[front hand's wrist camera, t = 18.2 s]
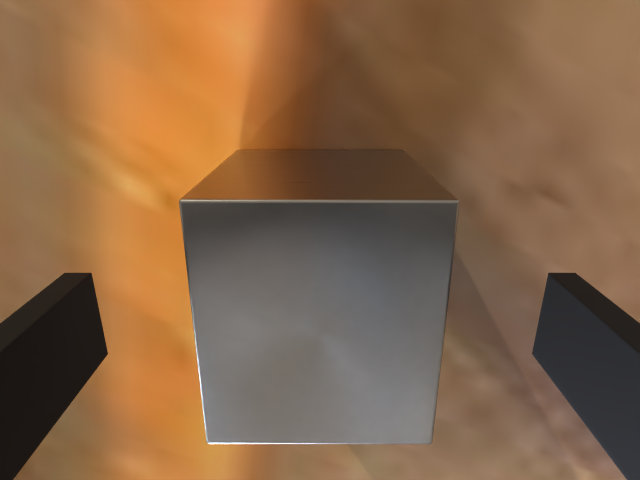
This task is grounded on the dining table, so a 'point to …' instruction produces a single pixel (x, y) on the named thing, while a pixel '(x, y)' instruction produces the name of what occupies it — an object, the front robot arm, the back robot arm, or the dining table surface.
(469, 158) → the dining table surface
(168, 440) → the dining table surface
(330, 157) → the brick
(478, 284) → the dining table surface
